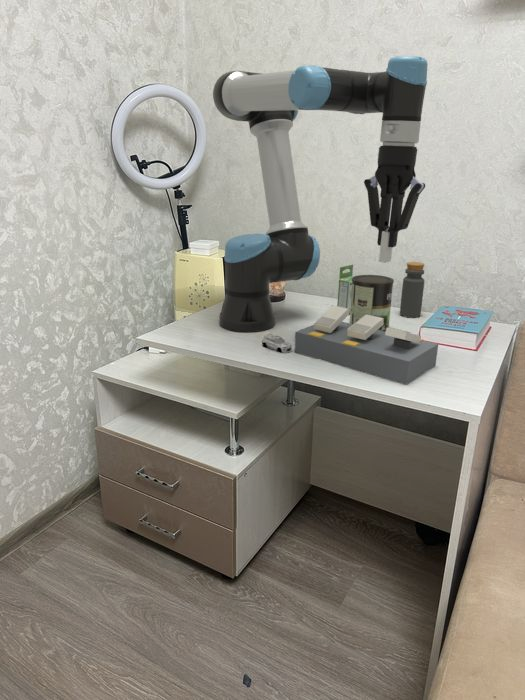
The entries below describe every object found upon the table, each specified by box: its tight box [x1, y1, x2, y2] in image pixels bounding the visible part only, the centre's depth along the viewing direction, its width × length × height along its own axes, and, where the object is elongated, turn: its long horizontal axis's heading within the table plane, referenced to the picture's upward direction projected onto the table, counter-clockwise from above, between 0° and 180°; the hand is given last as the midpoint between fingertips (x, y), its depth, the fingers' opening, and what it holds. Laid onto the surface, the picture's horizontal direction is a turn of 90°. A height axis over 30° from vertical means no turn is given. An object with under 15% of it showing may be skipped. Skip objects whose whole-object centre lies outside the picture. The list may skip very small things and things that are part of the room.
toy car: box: [261, 332, 293, 354], centre depth 124 cm, size 4×8×3 cm, turn 45°
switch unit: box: [294, 321, 439, 386], centre depth 118 cm, size 28×14×6 cm, turn 49°
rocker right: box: [385, 326, 422, 343], centre depth 111 cm, size 4×8×2 cm, turn 139°
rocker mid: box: [347, 315, 384, 340], centre depth 116 cm, size 4×8×2 cm, turn 139°
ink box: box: [336, 264, 355, 315], centre depth 153 cm, size 7×4×13 cm, turn 136°
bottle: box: [399, 261, 425, 319], centre depth 150 cm, size 6×6×15 cm
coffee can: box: [349, 274, 395, 332], centre depth 135 cm, size 10×10×14 cm
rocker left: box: [312, 305, 350, 333], centre depth 122 cm, size 4×8×2 cm, turn 139°
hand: (384, 261), depth 114 cm, fingers closed
